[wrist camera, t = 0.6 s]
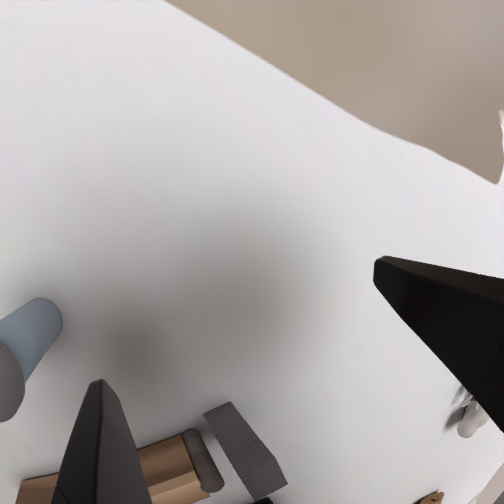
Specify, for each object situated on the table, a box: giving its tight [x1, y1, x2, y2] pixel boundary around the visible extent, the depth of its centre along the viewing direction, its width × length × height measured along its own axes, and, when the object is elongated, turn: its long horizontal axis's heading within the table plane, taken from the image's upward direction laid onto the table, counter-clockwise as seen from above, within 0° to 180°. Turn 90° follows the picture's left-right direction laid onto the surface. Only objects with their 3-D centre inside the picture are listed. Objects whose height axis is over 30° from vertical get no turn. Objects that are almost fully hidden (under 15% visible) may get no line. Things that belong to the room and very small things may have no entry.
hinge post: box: [203, 402, 288, 501], centre depth 19 cm, size 3×2×8 cm
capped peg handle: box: [0, 298, 62, 422], centre depth 12 cm, size 4×4×11 cm
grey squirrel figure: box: [457, 393, 489, 438], centre depth 37 cm, size 12×6×18 cm
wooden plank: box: [15, 430, 224, 504], centre depth 16 cm, size 2×18×6 cm, turn 110°
